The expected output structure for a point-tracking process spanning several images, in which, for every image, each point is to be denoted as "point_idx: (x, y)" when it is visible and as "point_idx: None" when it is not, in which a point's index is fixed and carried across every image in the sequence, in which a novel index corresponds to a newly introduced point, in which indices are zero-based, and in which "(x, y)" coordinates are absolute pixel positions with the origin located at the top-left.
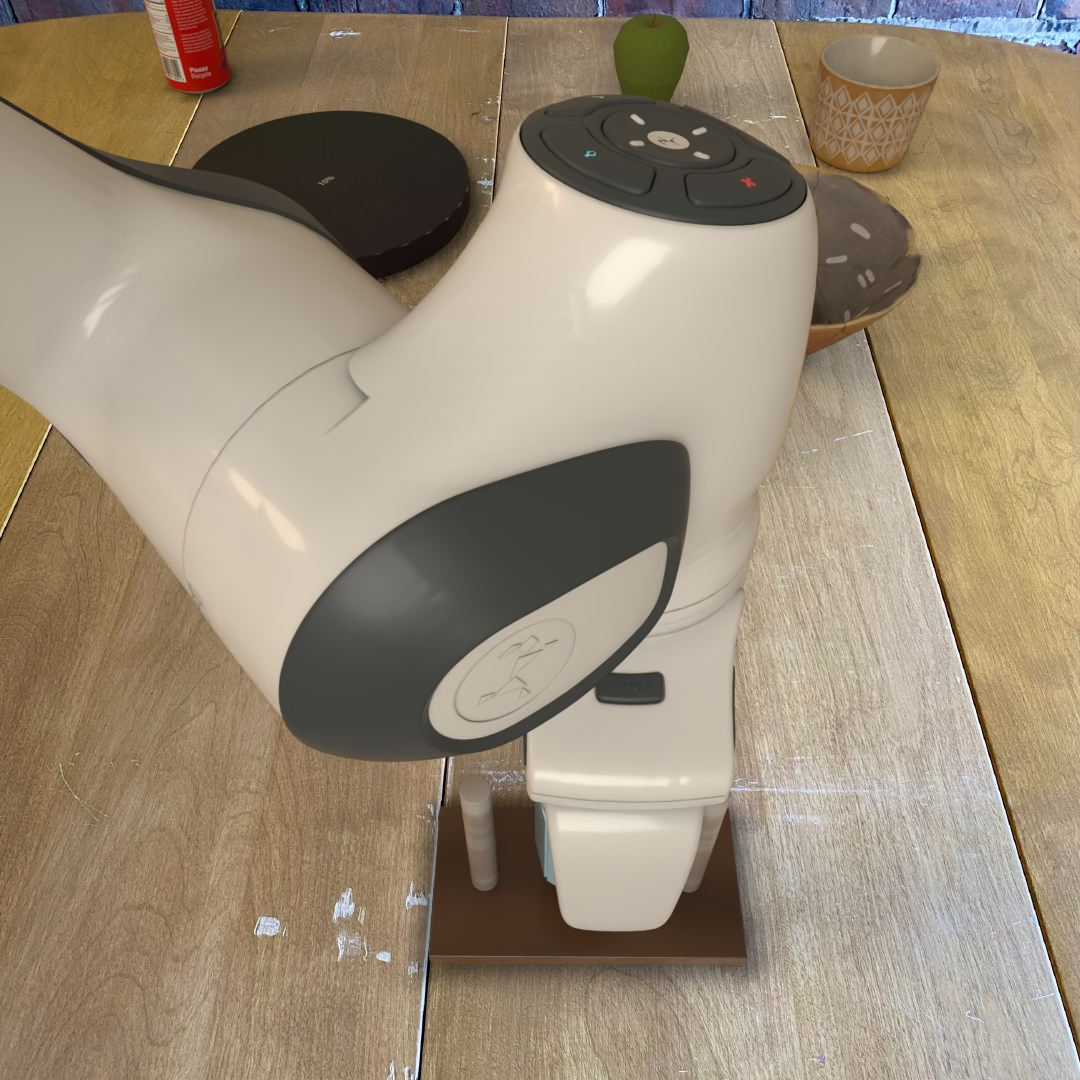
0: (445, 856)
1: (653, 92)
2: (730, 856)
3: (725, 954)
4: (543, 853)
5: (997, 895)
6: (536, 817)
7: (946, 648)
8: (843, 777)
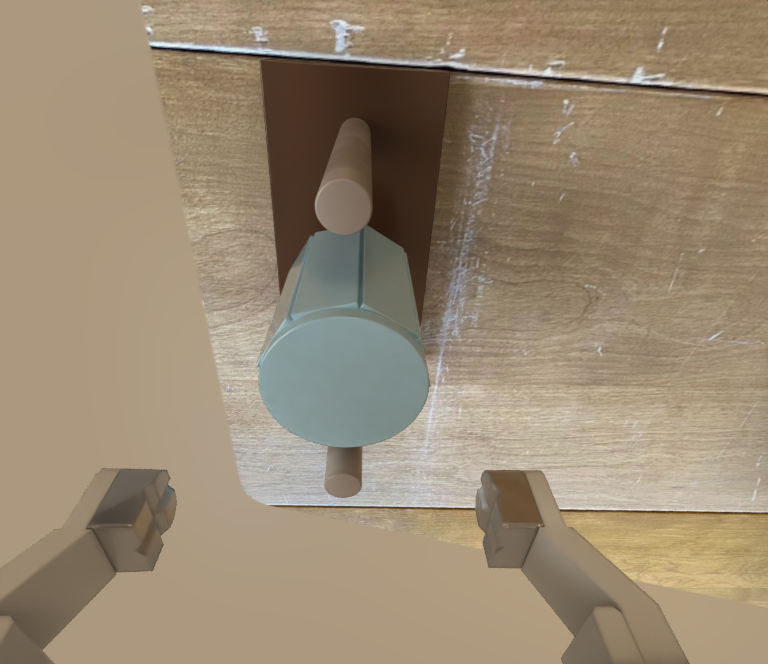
0: (383, 81)
1: None
2: None
3: None
4: (313, 255)
5: None
6: (349, 259)
7: None
8: (438, 434)
